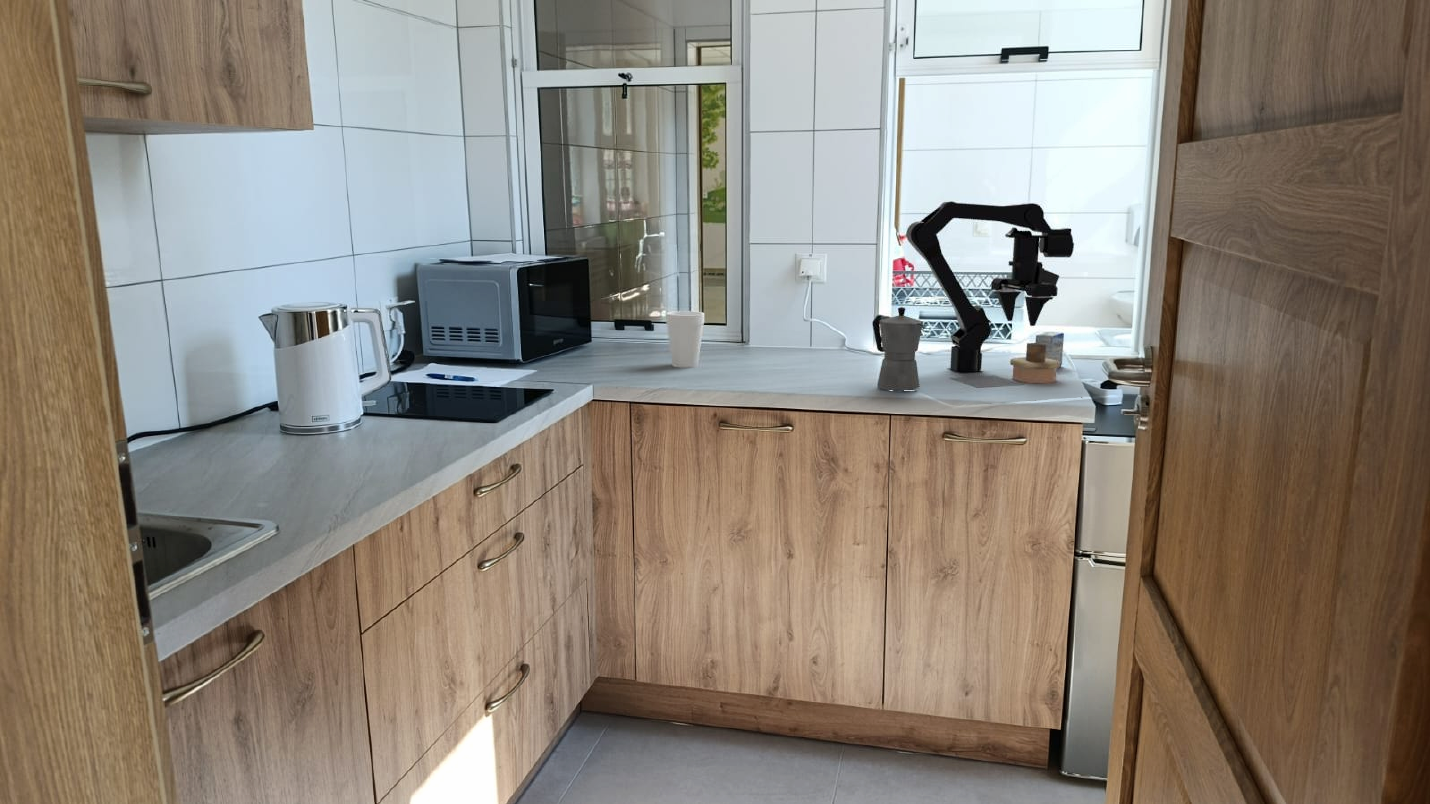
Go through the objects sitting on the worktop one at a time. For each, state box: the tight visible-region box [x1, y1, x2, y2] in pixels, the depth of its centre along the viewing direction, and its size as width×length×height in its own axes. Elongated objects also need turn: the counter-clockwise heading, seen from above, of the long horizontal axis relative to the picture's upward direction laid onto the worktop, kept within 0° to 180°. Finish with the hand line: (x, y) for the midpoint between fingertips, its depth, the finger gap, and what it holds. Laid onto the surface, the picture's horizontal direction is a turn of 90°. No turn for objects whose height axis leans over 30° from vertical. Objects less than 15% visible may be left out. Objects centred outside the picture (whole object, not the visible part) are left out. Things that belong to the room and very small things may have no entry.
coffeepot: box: [871, 306, 925, 391], centre depth 224 cm, size 15×9×18 cm, turn 33°
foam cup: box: [665, 310, 705, 369], centre depth 251 cm, size 10×9×13 cm
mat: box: [949, 374, 1025, 389], centre depth 231 cm, size 12×12×1 cm
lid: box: [1009, 342, 1061, 369], centre depth 232 cm, size 11×11×5 cm
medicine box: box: [1034, 331, 1065, 367], centre depth 251 cm, size 8×4×9 cm, turn 143°
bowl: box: [1012, 365, 1058, 384], centre depth 233 cm, size 9×9×4 cm
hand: (1020, 323), depth 242 cm, fingers open, 9 cm apart
